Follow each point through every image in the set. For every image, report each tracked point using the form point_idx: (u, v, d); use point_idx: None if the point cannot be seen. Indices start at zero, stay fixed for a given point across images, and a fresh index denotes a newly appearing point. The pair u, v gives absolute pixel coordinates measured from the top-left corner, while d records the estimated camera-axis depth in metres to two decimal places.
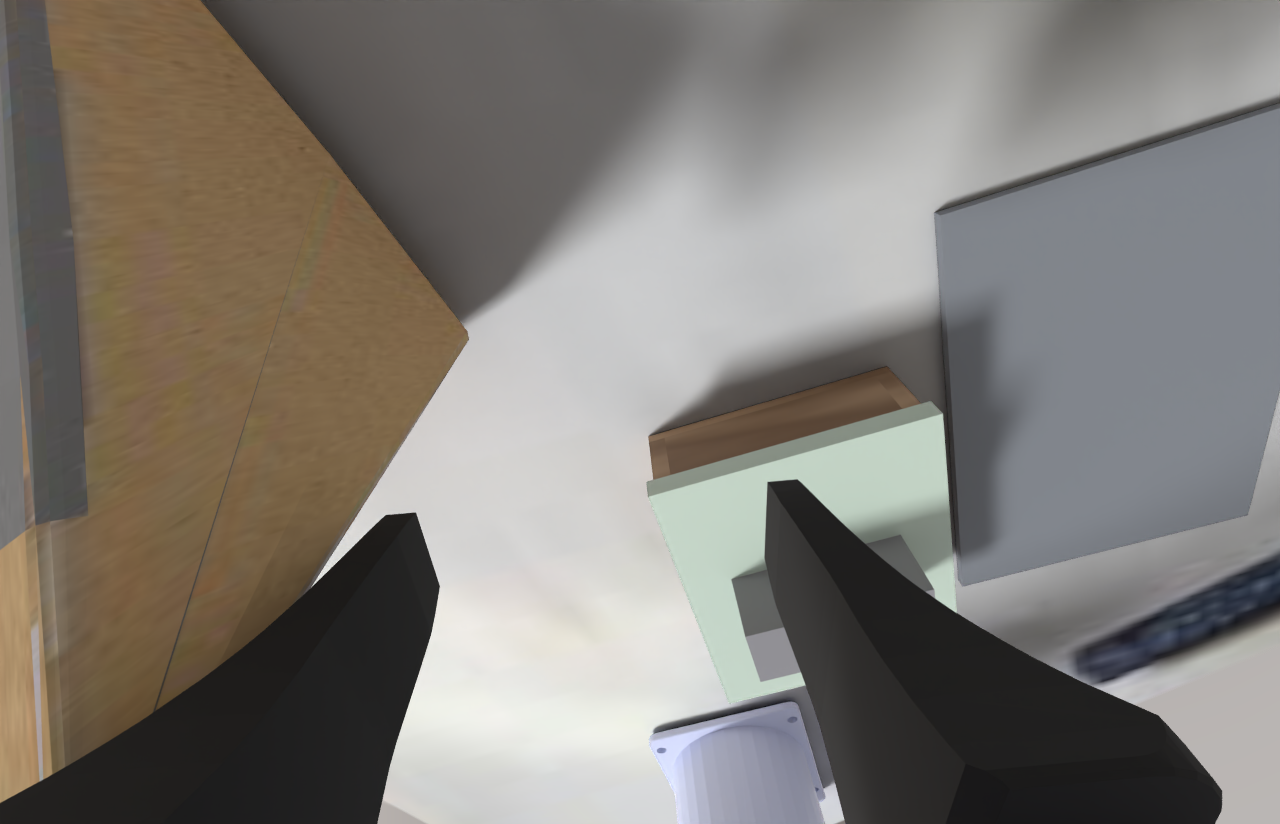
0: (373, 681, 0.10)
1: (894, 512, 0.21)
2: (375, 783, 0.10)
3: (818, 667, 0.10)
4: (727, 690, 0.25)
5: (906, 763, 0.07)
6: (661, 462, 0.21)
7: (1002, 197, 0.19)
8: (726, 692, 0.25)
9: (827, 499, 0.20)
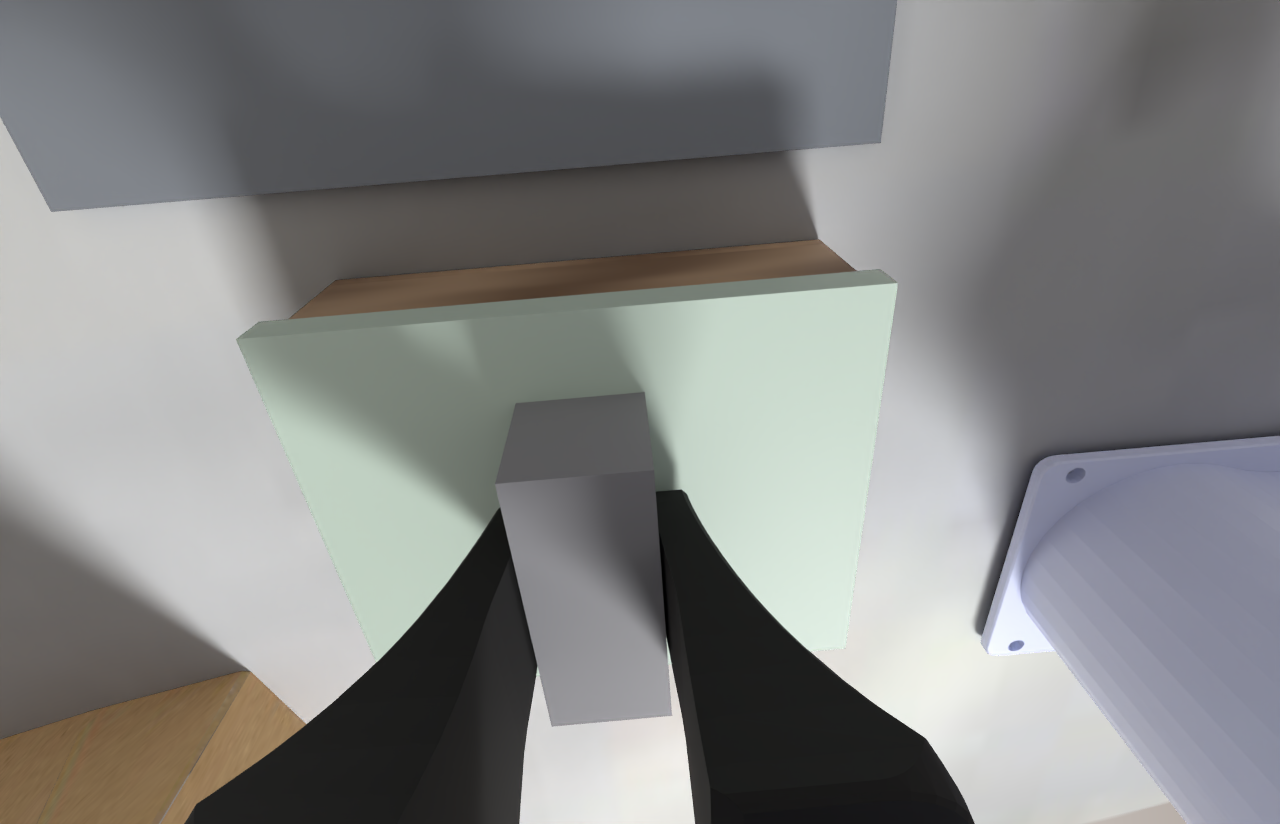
0: (512, 668, 0.10)
1: (459, 412, 0.11)
2: (517, 770, 0.10)
3: (680, 680, 0.10)
4: (811, 647, 0.15)
5: (701, 781, 0.07)
6: None
7: None
8: (815, 649, 0.15)
9: (416, 506, 0.12)
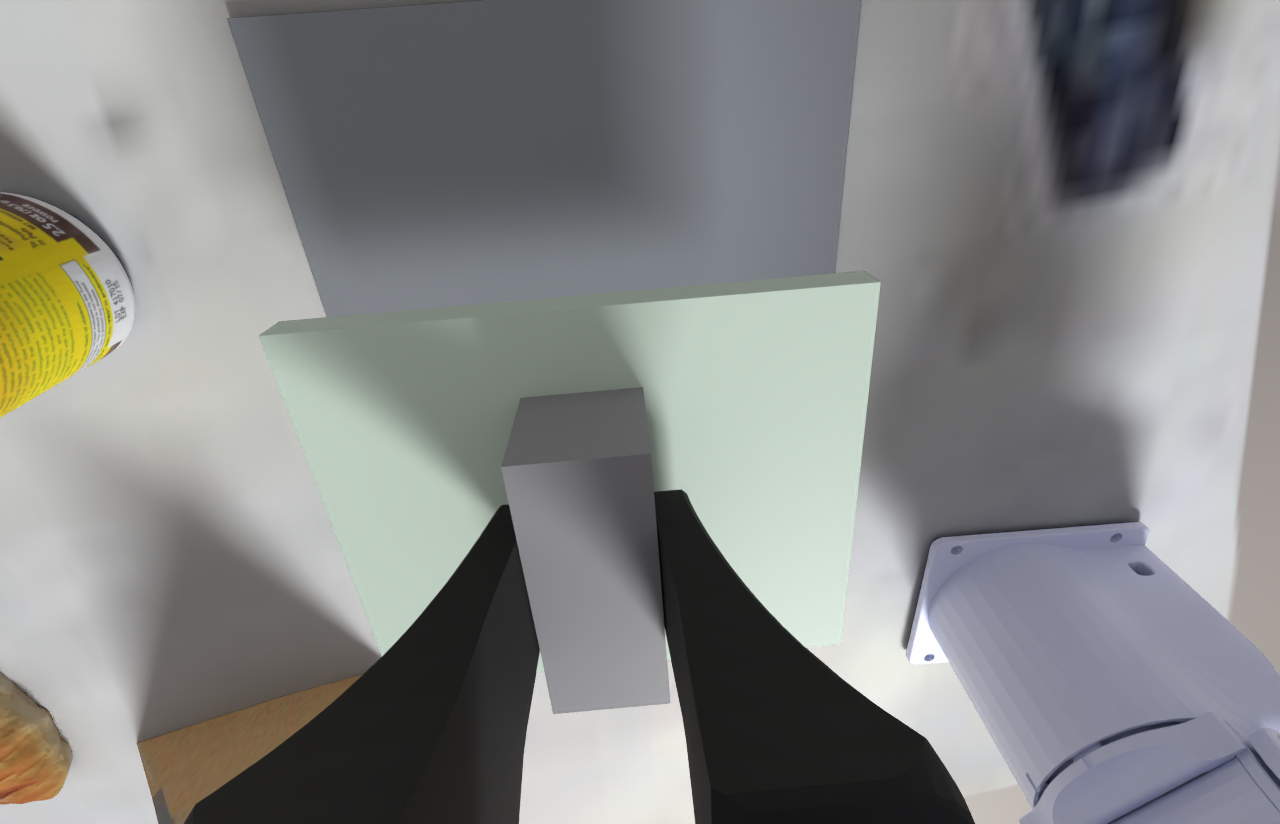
0: (512, 668, 0.10)
1: (467, 406, 0.12)
2: (516, 770, 0.10)
3: (680, 679, 0.10)
4: (807, 644, 0.16)
5: (701, 781, 0.07)
6: None
7: None
8: (811, 645, 0.16)
9: (424, 500, 0.13)
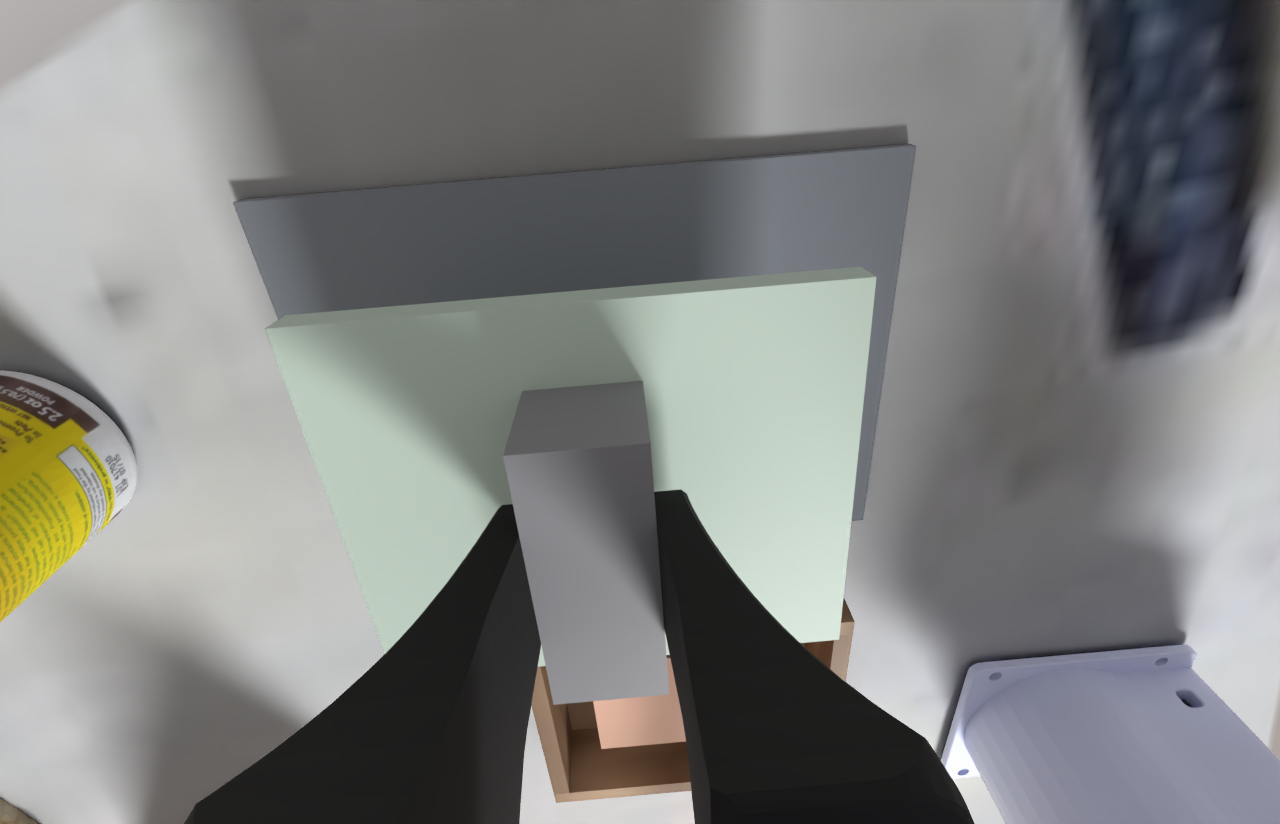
0: (512, 668, 0.10)
1: (469, 399, 0.12)
2: (517, 770, 0.10)
3: (680, 680, 0.10)
4: (805, 638, 0.16)
5: (701, 782, 0.07)
6: None
7: None
8: (809, 640, 0.16)
9: (426, 492, 0.13)
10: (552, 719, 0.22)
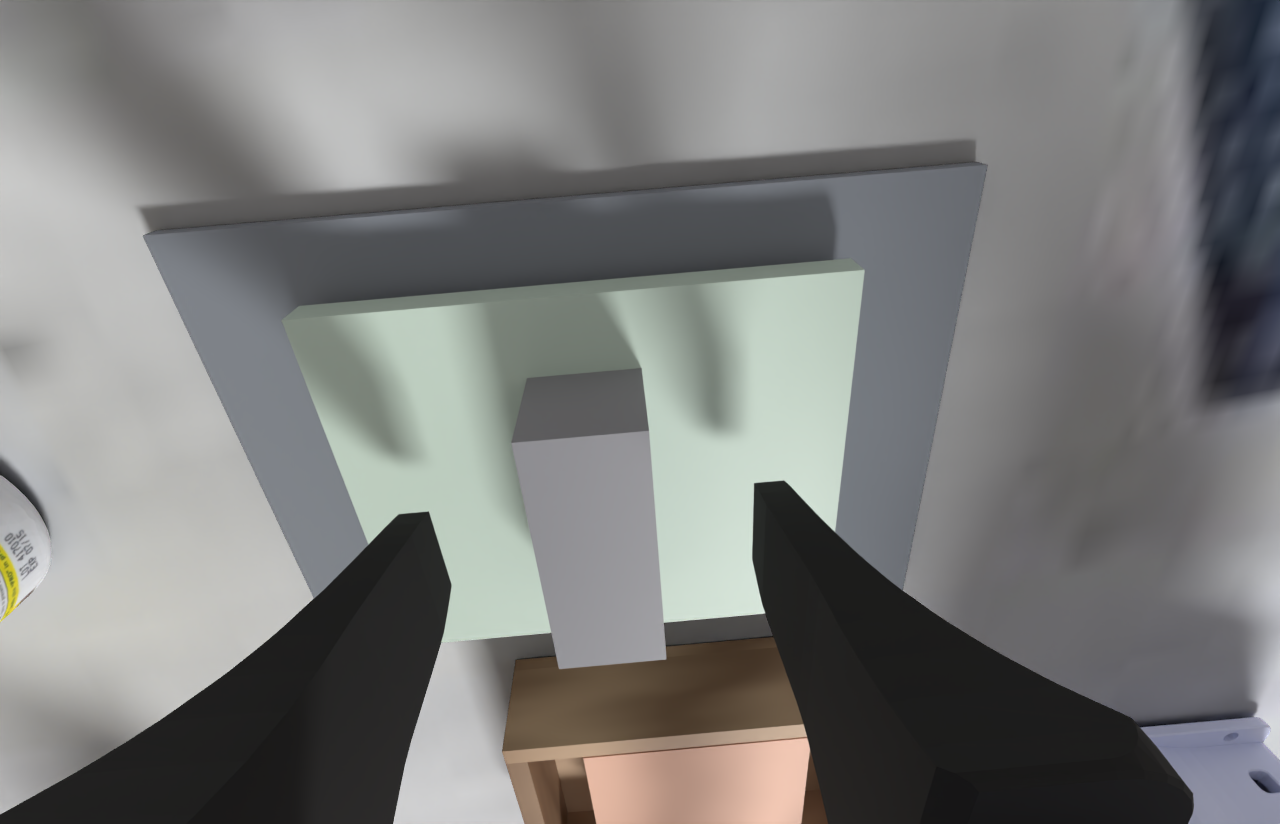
0: (389, 679, 0.10)
1: (477, 386, 0.13)
2: (391, 781, 0.10)
3: (803, 669, 0.10)
4: None
5: (882, 765, 0.07)
6: None
7: (315, 595, 0.17)
8: None
9: (436, 473, 0.14)
10: (543, 819, 0.19)
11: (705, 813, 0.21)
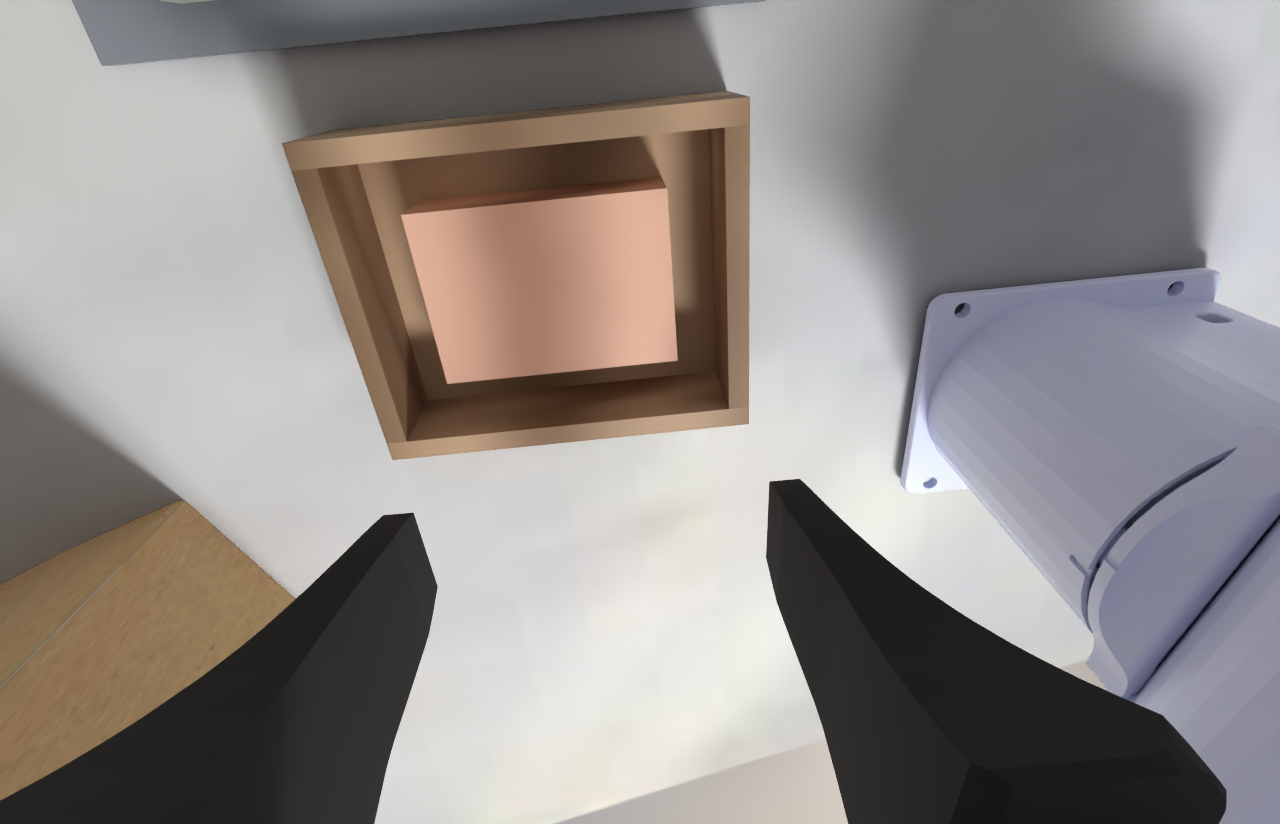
0: (369, 682, 0.10)
1: None
2: (372, 783, 0.10)
3: (821, 667, 0.10)
4: None
5: (910, 762, 0.07)
6: None
7: None
8: None
9: None
10: (358, 293, 0.16)
11: (561, 333, 0.18)
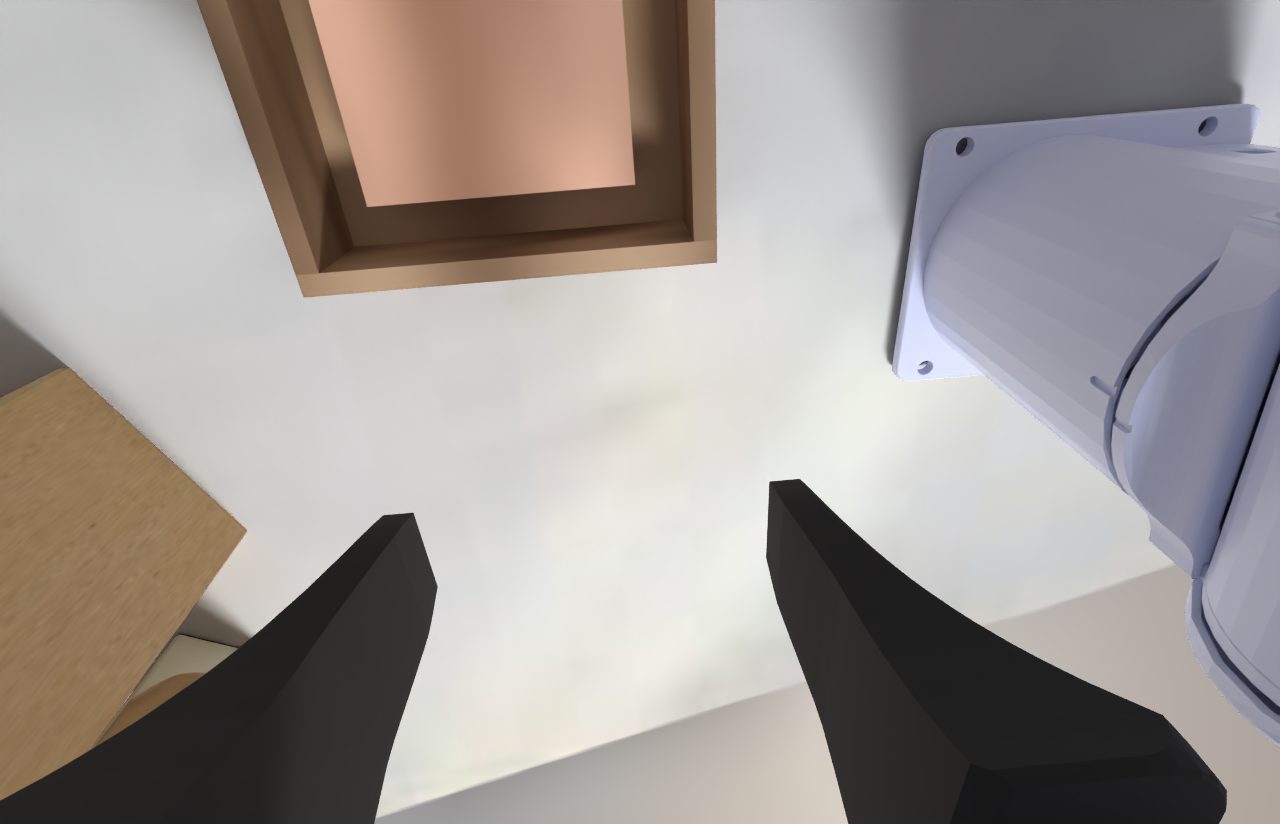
0: (370, 681, 0.10)
1: None
2: (372, 783, 0.10)
3: (821, 667, 0.10)
4: None
5: (910, 762, 0.07)
6: None
7: None
8: None
9: None
10: (249, 68, 0.14)
11: (499, 143, 0.15)
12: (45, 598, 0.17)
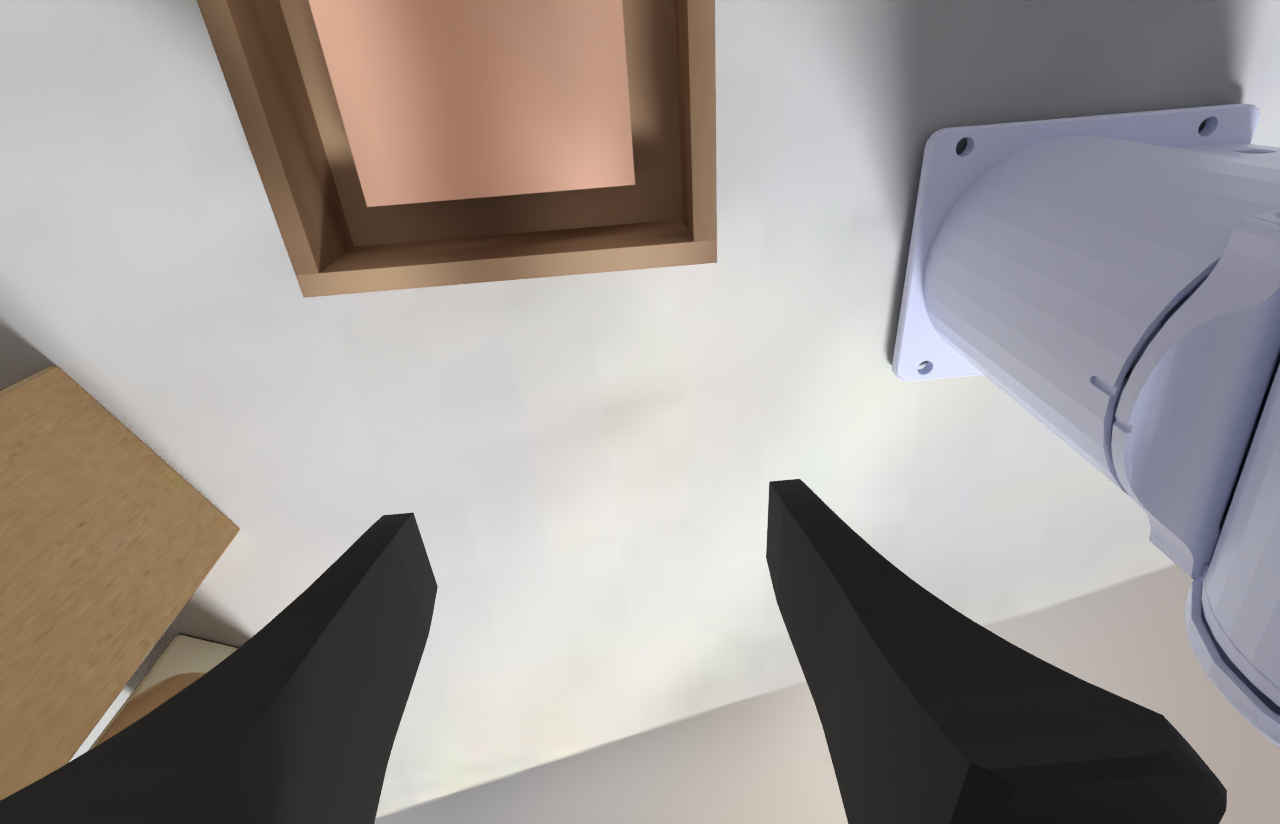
0: (370, 681, 0.10)
1: None
2: (372, 783, 0.10)
3: (821, 667, 0.10)
4: None
5: (910, 762, 0.07)
6: None
7: None
8: None
9: None
10: (249, 68, 0.14)
11: (499, 143, 0.15)
12: (33, 596, 0.17)
